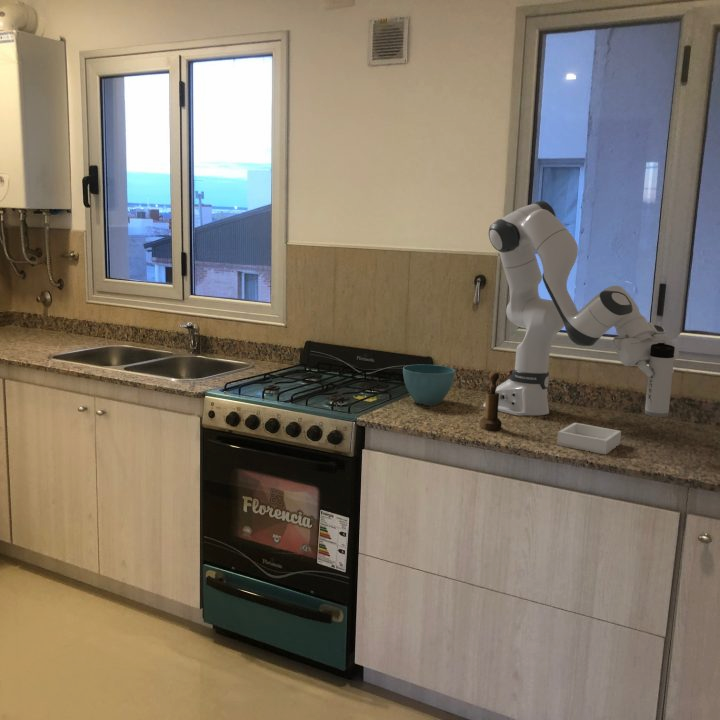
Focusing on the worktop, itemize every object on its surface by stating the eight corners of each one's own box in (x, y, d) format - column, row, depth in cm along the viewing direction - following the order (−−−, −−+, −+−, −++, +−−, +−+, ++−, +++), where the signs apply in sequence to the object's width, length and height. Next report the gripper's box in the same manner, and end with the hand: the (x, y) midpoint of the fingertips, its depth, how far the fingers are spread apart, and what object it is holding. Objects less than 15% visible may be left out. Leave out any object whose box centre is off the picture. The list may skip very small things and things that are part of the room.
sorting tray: (556, 444, 215) (558, 431, 214) (573, 435, 226) (574, 422, 225) (605, 454, 207) (606, 440, 206) (619, 444, 218) (621, 431, 217)
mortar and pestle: (475, 427, 231) (479, 370, 228) (487, 424, 235) (491, 368, 232) (493, 431, 226) (497, 374, 223) (505, 428, 231) (509, 371, 228)
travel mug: (666, 412, 211) (672, 343, 207) (670, 418, 205) (677, 346, 201) (643, 410, 212) (649, 342, 209) (646, 416, 206) (652, 345, 202)
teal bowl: (390, 401, 262) (392, 367, 260) (425, 394, 274) (427, 362, 272) (428, 411, 249) (430, 375, 247) (463, 404, 261) (465, 370, 259)
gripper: (617, 330, 205) (642, 371, 199) (668, 326, 215) (693, 365, 208) (603, 343, 210) (627, 384, 203) (654, 339, 220) (678, 378, 213)
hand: (661, 374), depth 206 cm, fingers closed on travel mug, 6 cm apart
